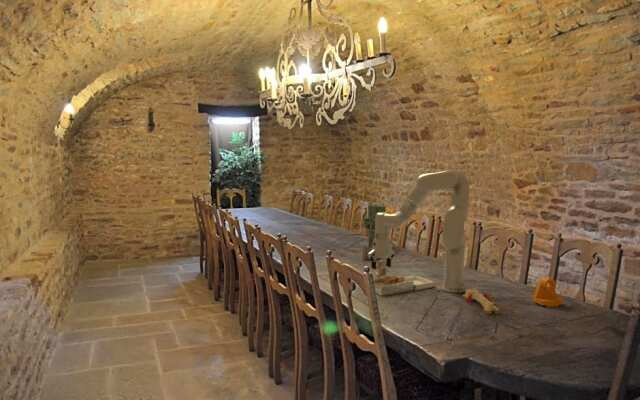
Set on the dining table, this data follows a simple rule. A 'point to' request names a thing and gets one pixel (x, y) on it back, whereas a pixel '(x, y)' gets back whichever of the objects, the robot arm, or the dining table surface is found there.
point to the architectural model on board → (365, 253)
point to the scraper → (381, 270)
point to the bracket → (546, 293)
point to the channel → (392, 287)
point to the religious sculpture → (372, 221)
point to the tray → (420, 282)
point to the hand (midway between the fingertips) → (381, 267)
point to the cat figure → (481, 300)
